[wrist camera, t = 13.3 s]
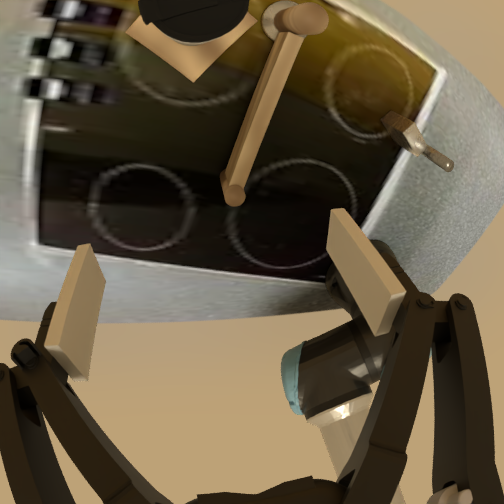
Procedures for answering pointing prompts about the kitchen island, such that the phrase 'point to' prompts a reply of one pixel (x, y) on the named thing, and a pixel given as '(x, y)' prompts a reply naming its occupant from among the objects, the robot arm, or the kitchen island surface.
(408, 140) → the post
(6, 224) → the kitchen island surface
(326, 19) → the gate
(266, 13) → the hinge base
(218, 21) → the travel mug
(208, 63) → the coaster
